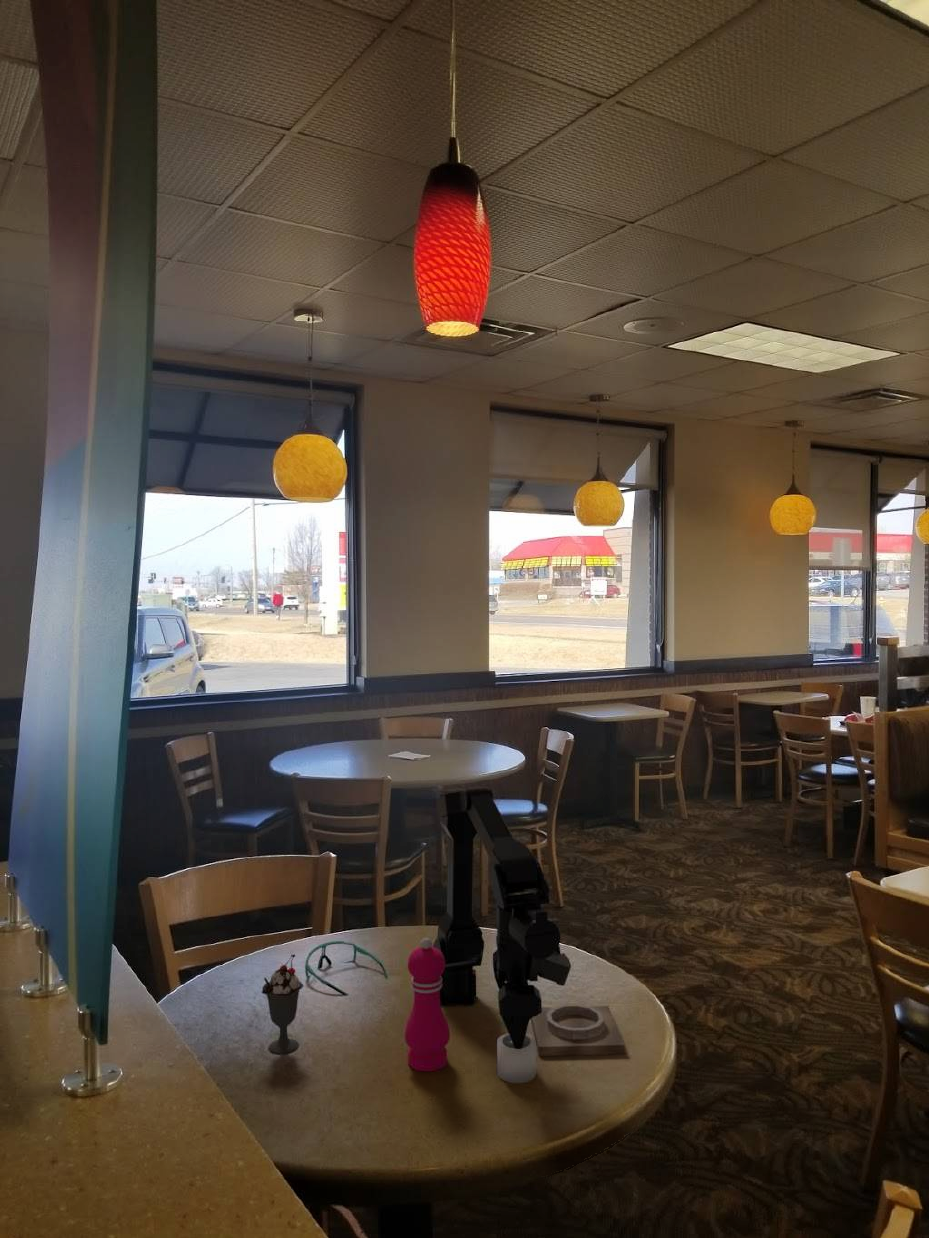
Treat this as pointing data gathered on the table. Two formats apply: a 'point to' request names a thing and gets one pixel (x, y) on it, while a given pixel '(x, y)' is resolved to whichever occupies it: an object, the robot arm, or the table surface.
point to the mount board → (576, 1031)
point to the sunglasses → (323, 946)
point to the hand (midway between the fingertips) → (516, 1033)
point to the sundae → (283, 1005)
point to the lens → (516, 1059)
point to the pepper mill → (426, 1010)
